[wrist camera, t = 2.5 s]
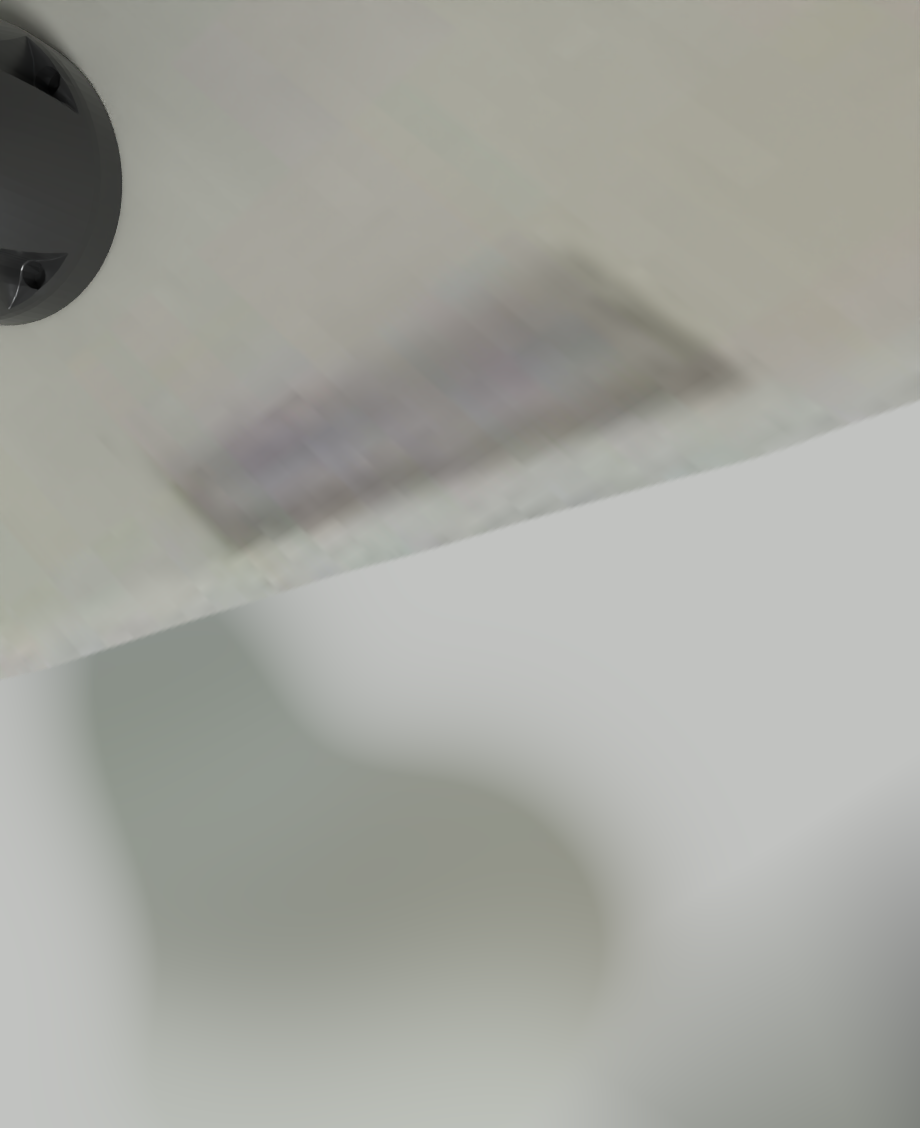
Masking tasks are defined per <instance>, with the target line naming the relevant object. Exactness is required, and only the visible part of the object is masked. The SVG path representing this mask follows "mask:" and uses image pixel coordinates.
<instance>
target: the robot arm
mask: <svg viewBox="0 0 920 1128" xmlns="http://www.w3.org/2000/svg"><path fill="white" fill-rule="evenodd" d="M121 198H122V172H121V162H120V155H119V150H118V145H117V141H116V137H115V133H114V130H113V127H112V124H111V122H110V119H109V117H108V114H107V112H106V110H105V108H104V106H103V104H102V102H101V100H100V98H99V96H98V95H97V93H96V91H95V90H94V88H93V87H92V86H91V84H90V83H89V81H88V80H87V79H86V78H85V76H84V75H83V74H82V73H81V72H80V71H79V70H78V68H77V67H76V66H75V65H74V64H72V63H71V62H70V61H69V60H68V59H67V58H66V57H64V56H63V55H62V54H61V53H59V52H58V51H56V50H55V49H53V48H52V47H50V46H49V45H47V44H46V43H44V42H42V41H41V40H39V39H38V38H36V37H35V36H33V35H31V34H30V33H28V32H27V31H25V30H23V29H21V28H20V27H17V26H15V25H13V24H11V23H8V22H6V21H3V20H0V325H20V324H26V323H31V322H34V321H38V320H41V319H43V318H46V317H48V316H50V315H52V314H54V313H56V312H58V311H59V310H61V309H62V308H64V307H65V306H67V305H68V304H69V303H71V302H72V301H73V300H74V299H75V298H76V297H78V296H79V295H80V294H81V293H82V292H83V290H84V289H85V288H86V287H87V286H88V285H89V283H90V282H91V281H92V280H93V278H94V277H95V275H96V274H97V272H98V271H99V269H100V267H101V266H102V264H103V262H104V260H105V258H106V256H107V254H108V252H109V249H110V247H111V244H112V242H113V238H114V235H115V232H116V228H117V224H118V220H119V214H120V208H121Z"/></svg>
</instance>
